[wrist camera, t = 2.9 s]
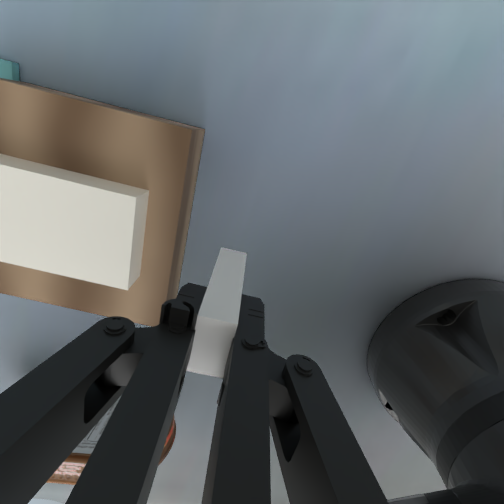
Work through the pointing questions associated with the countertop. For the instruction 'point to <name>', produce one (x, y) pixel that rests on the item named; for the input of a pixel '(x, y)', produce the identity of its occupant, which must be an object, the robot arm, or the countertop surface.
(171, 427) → the tin
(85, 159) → the brown wooden block
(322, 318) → the countertop surface
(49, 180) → the white rectangular block
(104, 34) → the countertop surface
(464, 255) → the countertop surface
